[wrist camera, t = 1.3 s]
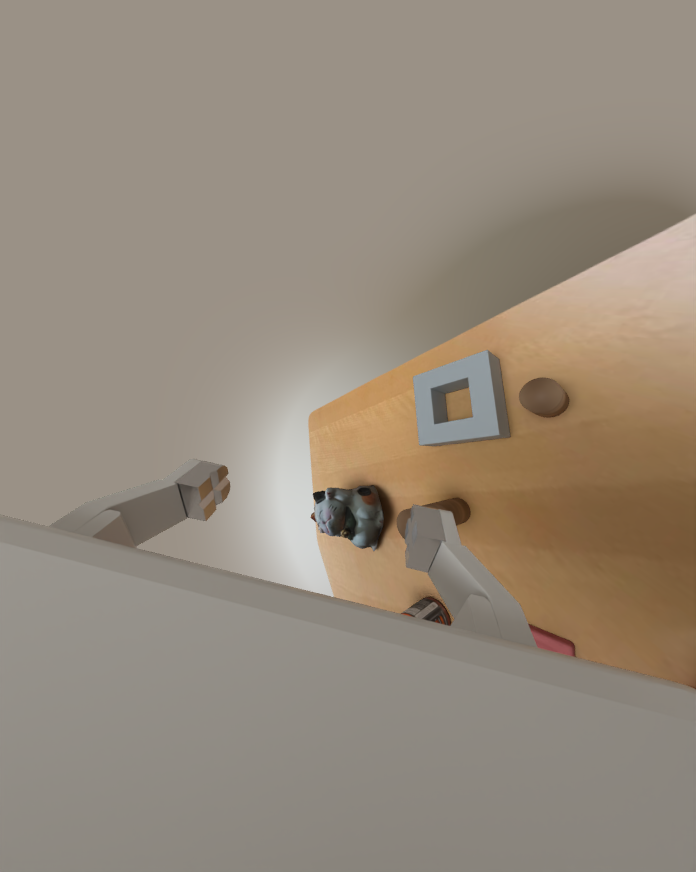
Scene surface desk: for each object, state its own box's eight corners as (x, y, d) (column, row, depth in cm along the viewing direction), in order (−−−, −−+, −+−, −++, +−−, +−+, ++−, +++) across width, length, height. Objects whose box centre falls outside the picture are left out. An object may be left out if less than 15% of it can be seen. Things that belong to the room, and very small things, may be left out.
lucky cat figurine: (371, 560, 54) (306, 562, 51) (362, 513, 63) (307, 511, 60) (394, 520, 45) (317, 519, 42) (379, 472, 55) (315, 468, 51)
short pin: (566, 383, 32) (558, 373, 28) (571, 414, 32) (564, 407, 28) (528, 392, 35) (517, 383, 31) (533, 419, 35) (521, 414, 31)
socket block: (499, 359, 38) (487, 349, 35) (510, 437, 36) (499, 435, 33) (427, 382, 47) (413, 376, 43) (434, 446, 45) (419, 445, 42)
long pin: (468, 498, 40) (422, 510, 31) (471, 524, 40) (425, 544, 30) (444, 497, 43) (395, 508, 34) (447, 521, 43) (398, 539, 33)
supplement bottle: (455, 641, 40) (416, 684, 33) (422, 628, 45) (381, 663, 37) (448, 600, 42) (410, 632, 34) (417, 592, 46) (376, 618, 38)
